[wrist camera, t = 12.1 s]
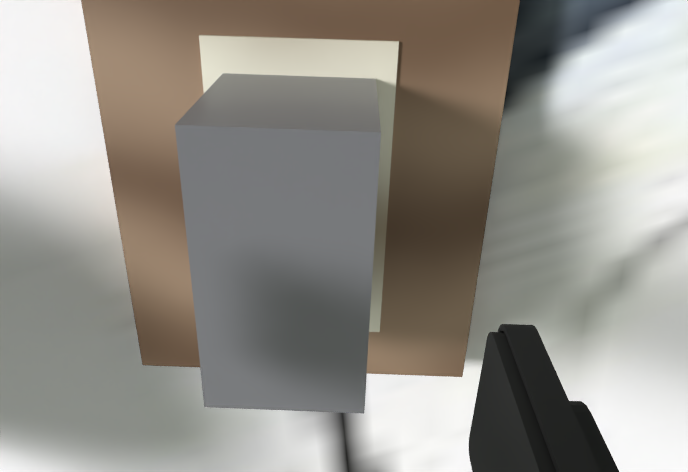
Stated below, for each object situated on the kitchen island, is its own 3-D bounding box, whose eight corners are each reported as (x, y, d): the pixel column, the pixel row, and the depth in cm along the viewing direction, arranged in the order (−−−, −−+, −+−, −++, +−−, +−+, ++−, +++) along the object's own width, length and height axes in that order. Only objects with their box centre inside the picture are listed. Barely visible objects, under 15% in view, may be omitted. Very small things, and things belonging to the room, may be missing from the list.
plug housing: (223, 73, 17) (174, 124, 13) (376, 78, 17) (380, 132, 13) (237, 304, 21) (204, 407, 16) (363, 309, 21) (363, 413, 16)
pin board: (95, -50, 17) (17, -42, 13) (512, -37, 17) (557, -26, 13) (155, 340, 24) (114, 422, 20) (456, 351, 24) (475, 435, 20)
